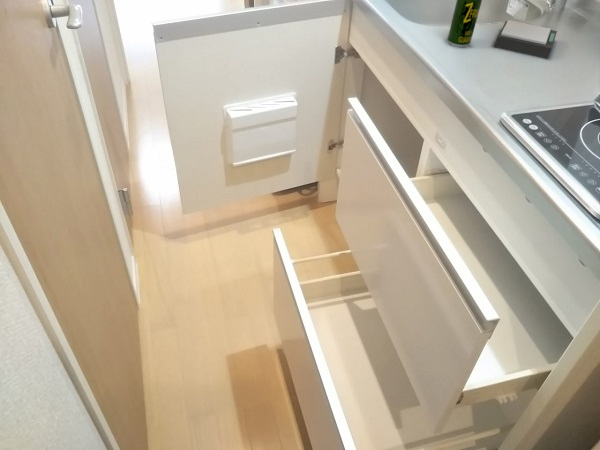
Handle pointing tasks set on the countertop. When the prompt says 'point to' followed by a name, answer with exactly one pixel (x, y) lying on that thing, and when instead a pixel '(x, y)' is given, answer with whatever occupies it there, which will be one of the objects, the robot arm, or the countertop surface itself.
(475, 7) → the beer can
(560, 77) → the countertop surface
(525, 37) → the scale
